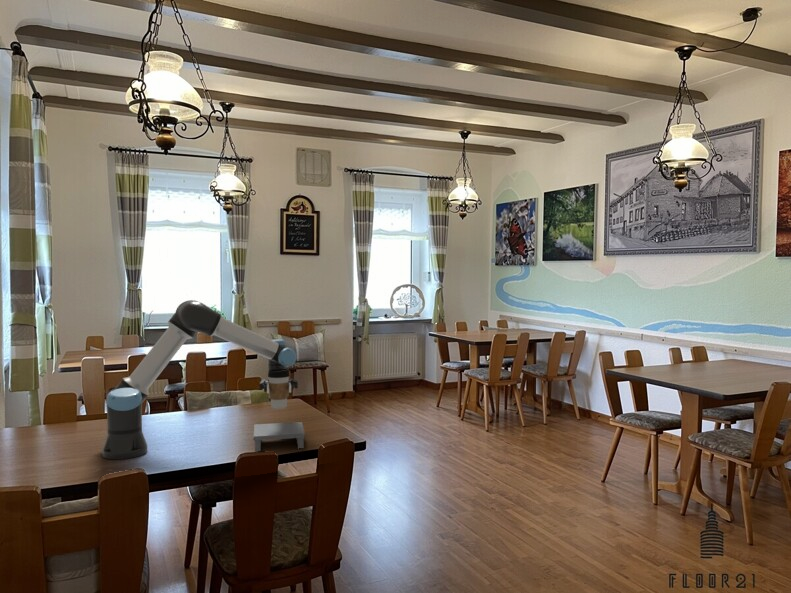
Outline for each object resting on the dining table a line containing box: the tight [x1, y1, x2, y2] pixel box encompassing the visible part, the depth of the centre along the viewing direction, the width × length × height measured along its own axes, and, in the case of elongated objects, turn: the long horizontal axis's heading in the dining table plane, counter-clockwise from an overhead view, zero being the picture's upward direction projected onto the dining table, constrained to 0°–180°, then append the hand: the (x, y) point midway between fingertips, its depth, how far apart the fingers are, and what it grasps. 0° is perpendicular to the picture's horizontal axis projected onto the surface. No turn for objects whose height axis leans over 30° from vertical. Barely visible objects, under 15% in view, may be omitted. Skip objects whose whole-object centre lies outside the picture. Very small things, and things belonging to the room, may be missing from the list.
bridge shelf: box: [253, 421, 306, 453], centre depth 227 cm, size 19×18×6 cm
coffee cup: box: [267, 368, 291, 410], centre depth 226 cm, size 8×8×15 cm
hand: (279, 389), depth 222 cm, fingers closed on coffee cup, 8 cm apart
